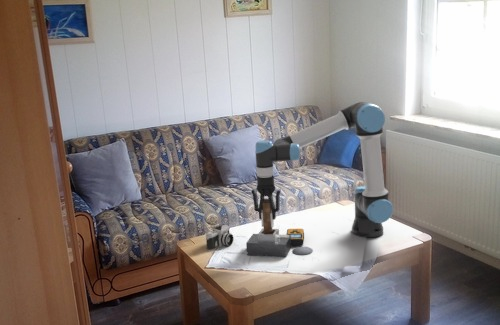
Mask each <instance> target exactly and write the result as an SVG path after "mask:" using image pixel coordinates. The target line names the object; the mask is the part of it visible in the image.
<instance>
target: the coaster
mask: <svg viewBox="0 0 500 325" xmlns="http://www.w3.org/2000/svg"><path fill="white" fill-rule="evenodd" d="M313 252H314V250H313V248H311V247H308V246H298V247H297V246H296V247H295V248H294V249H292V253H293V254H295V255H296V256H297V255H299V256H306V255H311V254H312V253H313Z"/></svg>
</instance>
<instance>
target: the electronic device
mask: <svg viewBox="0 0 500 325" xmlns="http://www.w3.org/2000/svg"><path fill="white" fill-rule="evenodd" d="M286 230H287V231H286V235H291V247H292V246H294V247H295V246H296V247H297V246H298V247H300V246H303V245H304V241H305V232H304V231H305V230H304V228H288V229H286Z"/></svg>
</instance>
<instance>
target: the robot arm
mask: <svg viewBox="0 0 500 325" xmlns="http://www.w3.org/2000/svg"><path fill="white" fill-rule="evenodd" d="M385 121H386V115H385V113H384V111H383V109H382V108H381V107H380V106H378V105H376V104H375V103H368V102H366V101H359V102H355V103H353V104H351V105H349V106H347V107H345V108H343V109H340V110H338V113H337V114H335V115H333V116H330V117H327V118H326V119H323V120H321V121H319V122H316V123H315V124H313V125H310V126H308V127H306V128H303V129H300V130H299V131H297V132H294V133H292V134H290V135H288V136H285V137H283V138H282V137H280V138H277V139H275V140H274V141H271V140H265V139H264V140H258V141H256V143H255V165H256V167H255V168H256V176H257V177H256V181H257V182H256V184H257V186H256V188H253V189H251V194H252V198H253V206H254V211H255V212H257V213H258V219H259V220H261V227H262V228H264V224H263V209H262V200H264V199H265V197H267V199H269V202H270V206H271V210H272V212H271V213H270V216H271V227H272V228H273V227H274V226H275V220H276V218H277V216H276V214H277V213H278V212H279V211H280V207H281V206H280V204H281V202H280V198H281V195H280V194H281V192H282V190H281V189H280V188H276V186H275V176H274V175H275V174H274V172H275V171H274V163H277V162H294V161H299V160H300V158H301V148H304V147H306V146H309V145H310V144H313V143H316V142H317V141H321V140H323V139H325V138H327V137H329V136H331V135H334V134H336V133H338V132H341V131H342V130H347V131H349V130H351V129H353V128H355V135H356V137H357V138H359V141H360V149H361V150H360V152H361V161H362V162H361V163H362V168H363V169H362V171H363V180H364V182H363V183H364V185H363V186H357V187H355V188H354V219H353V223H352V224H351V225H352V226H351V233H352V234H353V235H354V236H358V237H361V238H376V237H380V236H382V235H383V234H384V226H383V224H382V223H385V222H387V221H388V220H389V219H391V217H392V216H393V213H394V207H393V204H392V202H391V201H390V196H389V195H390V194H389V190H387V188H386V187H385V180H384V179H385V178H384V169H383V168H384V167H383V159H382V156H383V155H382V146H381V136H382V134H383V133H384V131H383V130H384V129H383V126H384V125H385ZM274 192H275V201H274V195H273V194H274ZM258 194H260V196H259V198H258ZM258 199H259V200H258Z"/></svg>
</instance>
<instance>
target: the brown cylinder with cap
mask: <svg viewBox="0 0 500 325" xmlns="http://www.w3.org/2000/svg"><path fill="white" fill-rule="evenodd" d="M262 209H263V210H262V211H263V224H264V227H263V229H264V234H273V229H274V228H273V227H271V216H270V213H271V212H272V210H271V206H270V202H269V199H268V198H264V200H262Z"/></svg>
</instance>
